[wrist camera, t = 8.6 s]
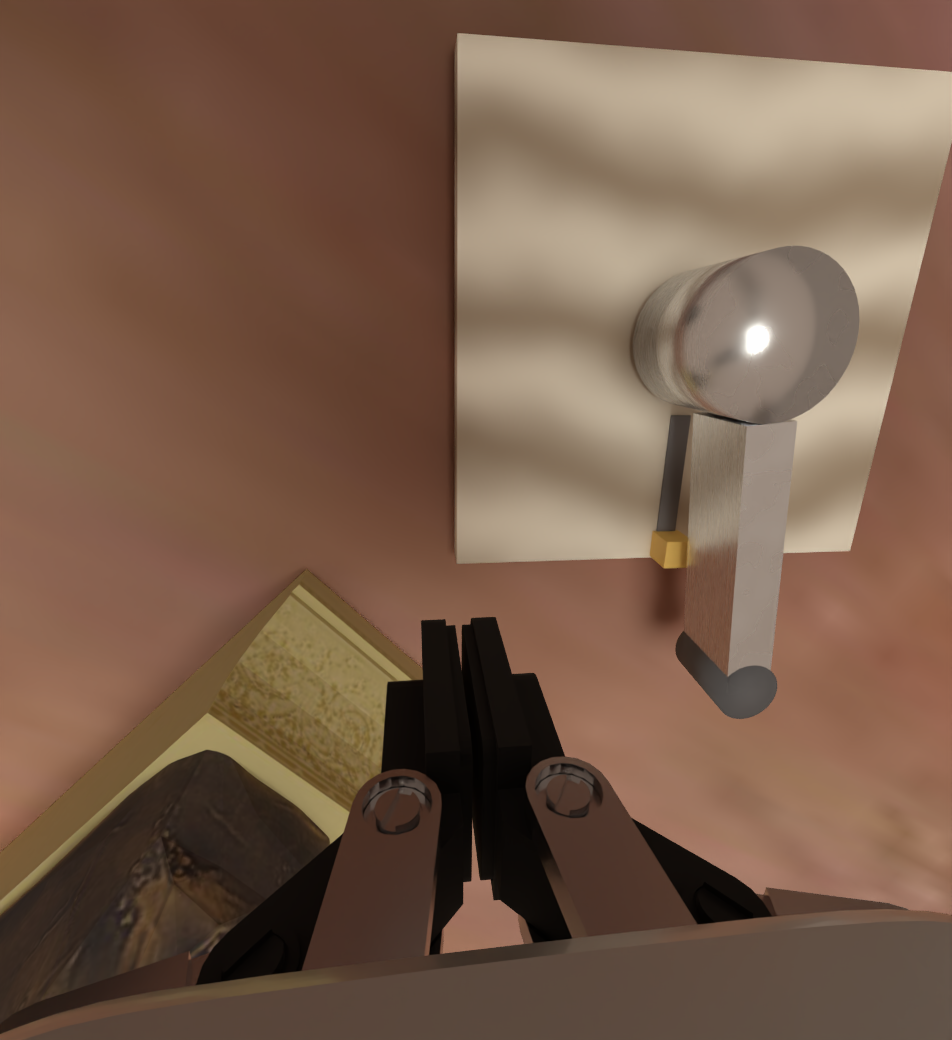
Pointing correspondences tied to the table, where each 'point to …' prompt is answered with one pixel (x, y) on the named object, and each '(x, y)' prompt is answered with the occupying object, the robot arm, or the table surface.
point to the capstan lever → (743, 439)
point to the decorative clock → (201, 801)
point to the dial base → (662, 273)
